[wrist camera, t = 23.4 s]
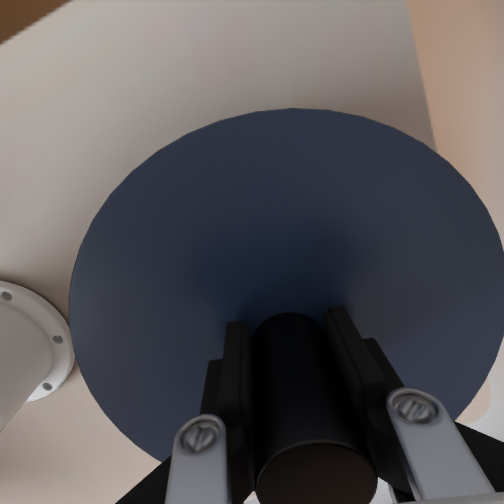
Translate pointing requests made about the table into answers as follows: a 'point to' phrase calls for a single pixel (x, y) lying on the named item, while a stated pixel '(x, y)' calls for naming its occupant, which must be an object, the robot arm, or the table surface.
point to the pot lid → (286, 286)
